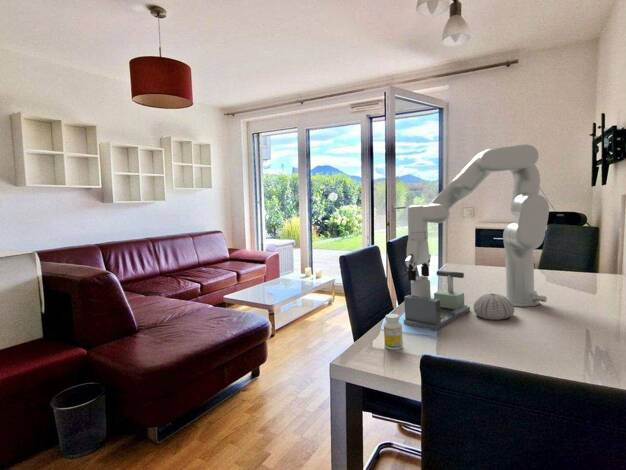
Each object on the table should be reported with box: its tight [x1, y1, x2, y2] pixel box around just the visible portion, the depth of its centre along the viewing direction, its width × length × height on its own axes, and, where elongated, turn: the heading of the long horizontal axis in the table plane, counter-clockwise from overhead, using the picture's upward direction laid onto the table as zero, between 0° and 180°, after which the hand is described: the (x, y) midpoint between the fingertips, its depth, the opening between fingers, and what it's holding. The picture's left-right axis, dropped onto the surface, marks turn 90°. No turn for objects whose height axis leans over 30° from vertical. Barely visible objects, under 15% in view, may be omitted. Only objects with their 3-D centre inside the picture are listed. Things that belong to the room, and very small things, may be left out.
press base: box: [403, 294, 471, 331], centre depth 134 cm, size 12×26×10 cm, turn 133°
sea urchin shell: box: [472, 293, 516, 321], centre depth 131 cm, size 13×14×8 cm
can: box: [410, 275, 432, 298], centre depth 148 cm, size 8×8×12 cm
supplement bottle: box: [383, 313, 404, 351], centre depth 110 cm, size 5×5×10 cm
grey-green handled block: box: [433, 269, 465, 309], centre depth 140 cm, size 10×6×13 cm, turn 43°
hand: (418, 278), depth 148 cm, fingers open, 9 cm apart
